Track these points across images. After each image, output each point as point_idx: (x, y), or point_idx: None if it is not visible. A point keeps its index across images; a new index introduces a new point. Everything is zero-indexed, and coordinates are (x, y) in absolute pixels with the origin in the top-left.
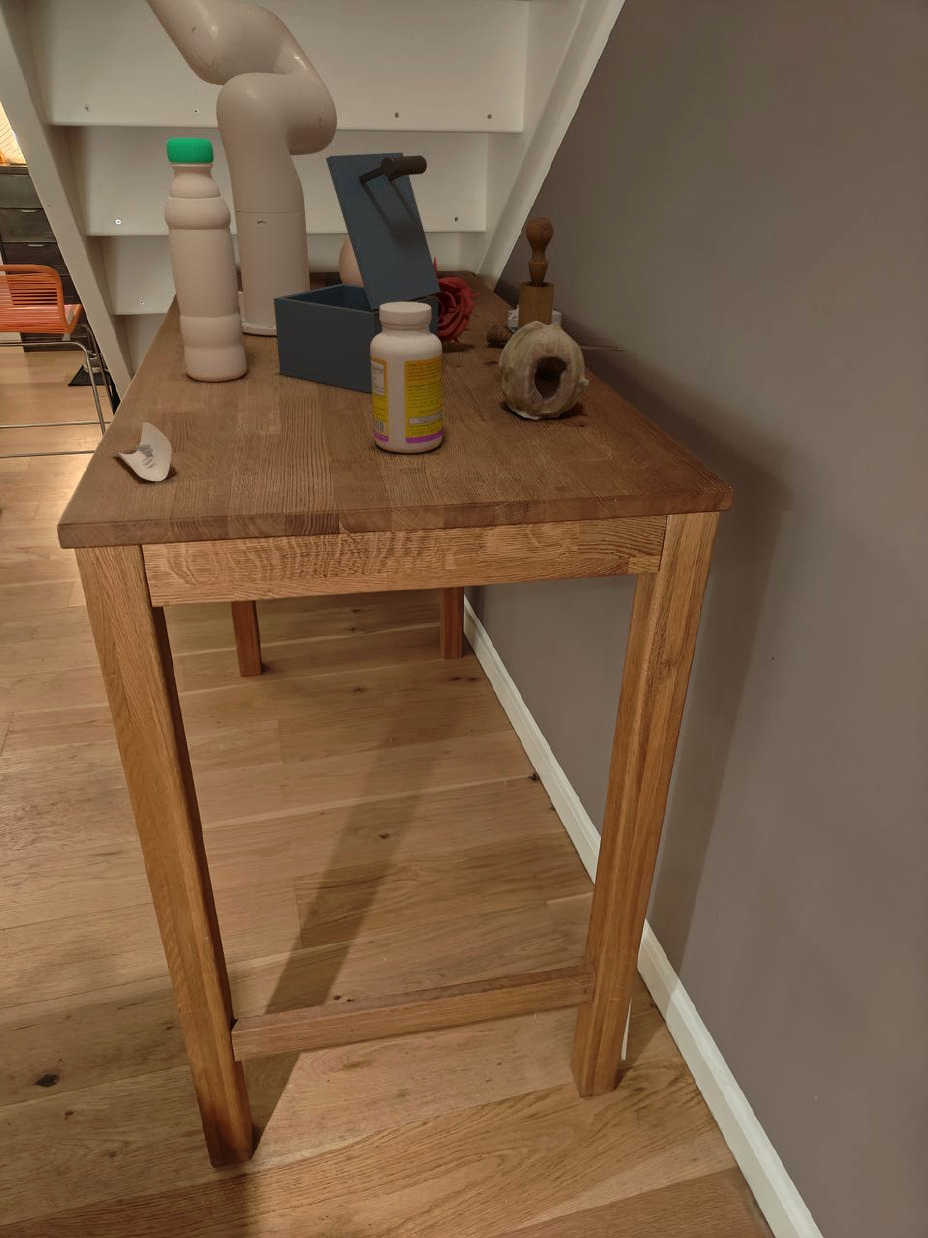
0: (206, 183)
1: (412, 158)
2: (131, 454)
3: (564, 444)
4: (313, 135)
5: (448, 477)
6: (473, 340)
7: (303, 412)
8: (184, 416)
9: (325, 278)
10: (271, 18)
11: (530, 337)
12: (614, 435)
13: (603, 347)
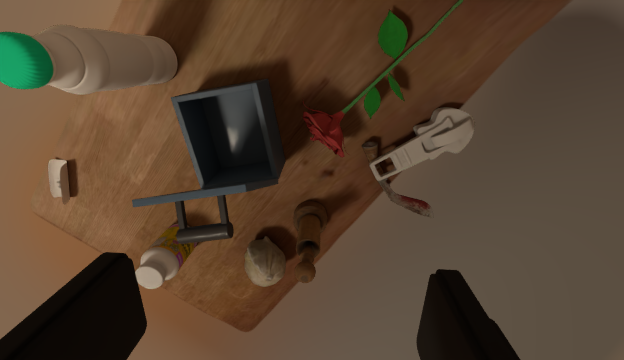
0: (55, 84)
1: (210, 239)
2: (64, 160)
3: (239, 279)
4: None
5: None
6: (375, 119)
7: (166, 167)
8: (106, 126)
9: None
10: None
11: (253, 270)
12: (266, 287)
13: (415, 205)
